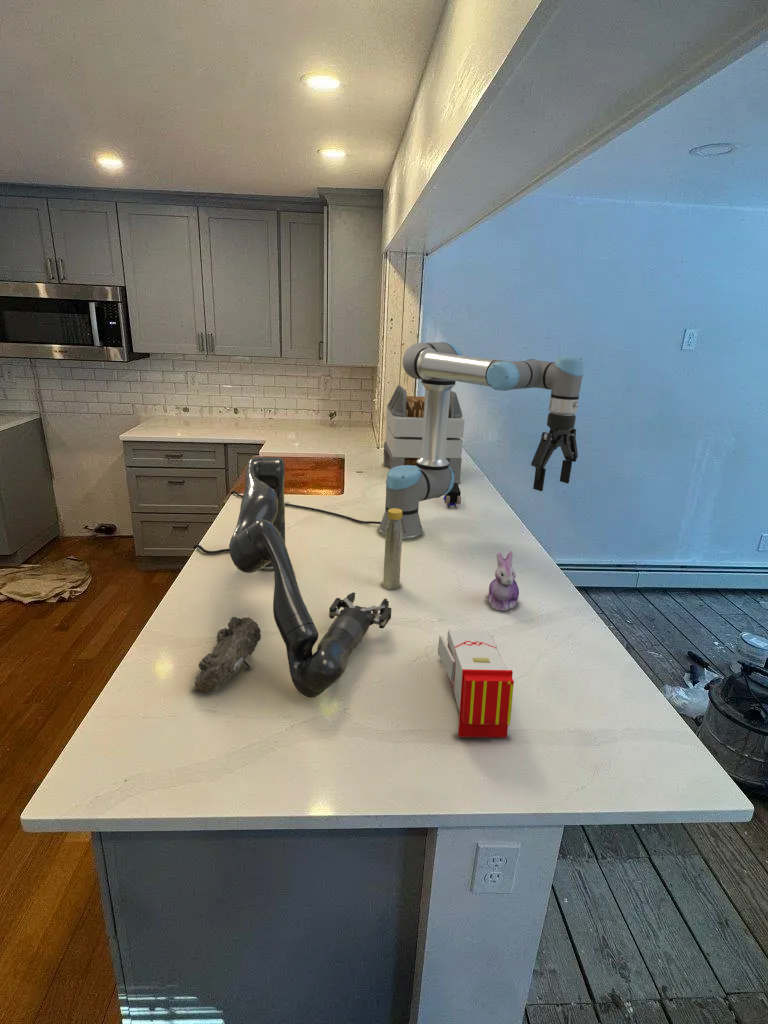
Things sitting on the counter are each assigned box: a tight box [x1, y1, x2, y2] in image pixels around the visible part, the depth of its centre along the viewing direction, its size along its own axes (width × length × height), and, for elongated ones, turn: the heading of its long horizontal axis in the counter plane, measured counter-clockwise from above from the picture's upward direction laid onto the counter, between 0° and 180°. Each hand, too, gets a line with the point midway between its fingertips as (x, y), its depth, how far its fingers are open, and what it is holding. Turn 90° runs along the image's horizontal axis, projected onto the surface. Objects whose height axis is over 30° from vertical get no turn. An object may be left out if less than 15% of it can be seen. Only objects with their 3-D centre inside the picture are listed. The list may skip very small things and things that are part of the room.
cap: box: [387, 508, 402, 520], centre depth 155 cm, size 4×4×2 cm
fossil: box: [194, 616, 262, 693], centre depth 122 cm, size 22×10×15 cm
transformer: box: [383, 384, 465, 484], centre depth 268 cm, size 34×33×41 cm
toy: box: [437, 628, 515, 738], centre depth 117 cm, size 12×13×30 cm
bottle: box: [382, 519, 403, 590], centre depth 159 cm, size 5×5×22 cm
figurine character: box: [442, 483, 462, 509], centre depth 232 cm, size 7×8×15 cm
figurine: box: [487, 550, 520, 612], centre depth 153 cm, size 9×10×15 cm
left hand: (369, 598), depth 142 cm, fingers open, 8 cm apart
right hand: (551, 486), depth 166 cm, fingers open, 13 cm apart
